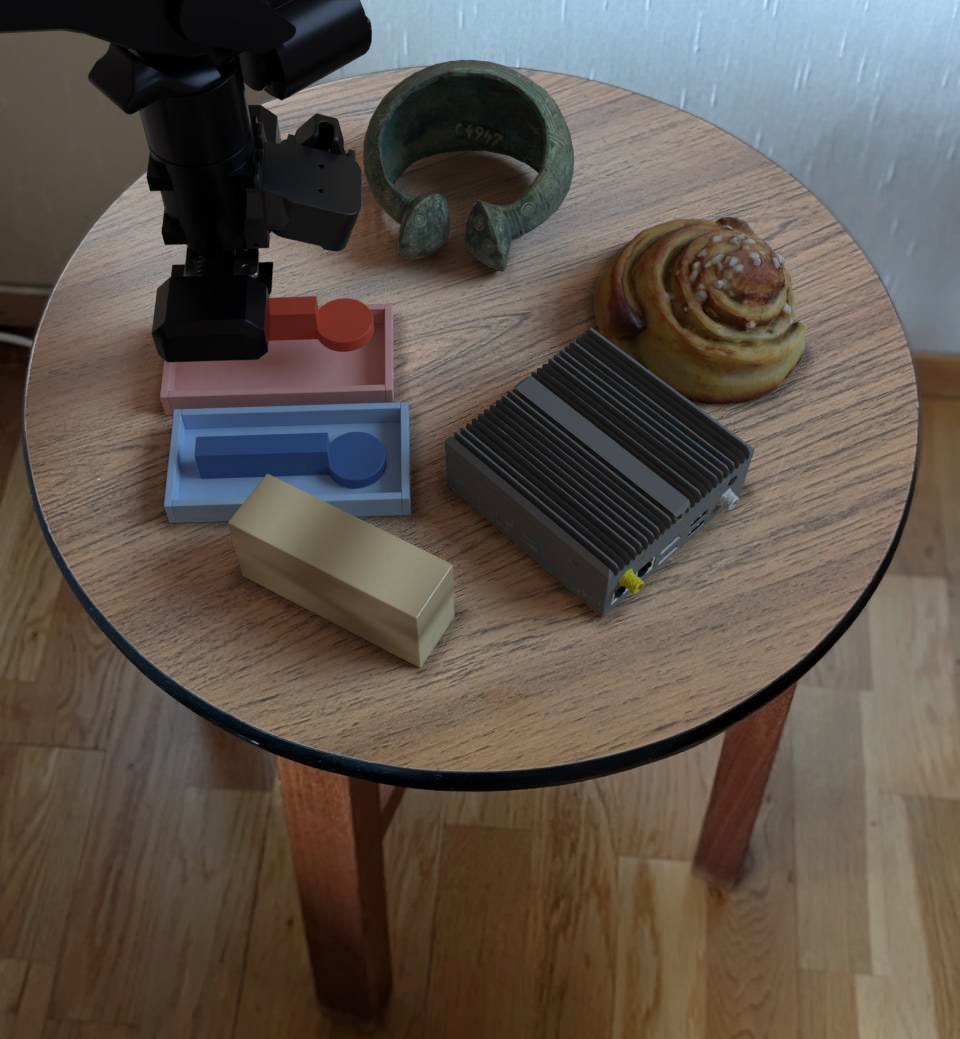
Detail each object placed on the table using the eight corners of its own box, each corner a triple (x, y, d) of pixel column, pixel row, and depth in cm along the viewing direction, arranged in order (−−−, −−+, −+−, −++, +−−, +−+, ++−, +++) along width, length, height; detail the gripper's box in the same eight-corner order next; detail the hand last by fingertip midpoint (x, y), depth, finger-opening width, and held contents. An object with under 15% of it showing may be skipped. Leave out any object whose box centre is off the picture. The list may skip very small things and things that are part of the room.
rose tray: (165, 415, 88) (159, 397, 86) (175, 328, 92) (169, 309, 90) (394, 407, 88) (392, 389, 86) (393, 321, 92) (391, 303, 90)
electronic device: (615, 631, 79) (622, 588, 75) (438, 479, 85) (436, 432, 81) (755, 503, 84) (770, 456, 80) (579, 368, 90) (584, 318, 86)
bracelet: (349, 275, 94) (337, 166, 86) (381, 131, 103) (373, 19, 94) (561, 292, 93) (570, 184, 85) (577, 146, 102) (585, 34, 93)
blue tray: (169, 523, 83) (163, 506, 81) (179, 426, 87) (173, 409, 85) (410, 515, 83) (409, 498, 82) (409, 419, 87) (408, 401, 86)
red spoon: (374, 307, 88) (371, 280, 86) (374, 351, 86) (371, 325, 84) (195, 312, 88) (188, 286, 86) (191, 357, 86) (184, 331, 84)
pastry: (762, 430, 87) (786, 350, 80) (557, 345, 91) (563, 262, 84) (835, 297, 93) (862, 212, 87) (640, 222, 97) (652, 136, 90)
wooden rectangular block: (455, 616, 79) (453, 564, 74) (420, 668, 78) (416, 619, 72) (279, 528, 83) (266, 472, 78) (242, 576, 81) (226, 522, 76)
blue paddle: (386, 439, 86) (384, 415, 84) (386, 488, 84) (384, 464, 82) (204, 445, 86) (197, 421, 84) (199, 494, 84) (192, 471, 82)
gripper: (344, 251, 68) (366, 435, 81) (349, 19, 78) (367, 216, 91) (124, 257, 68) (181, 441, 81) (157, 24, 78) (203, 220, 91)
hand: (241, 323), depth 86 cm, fingers closed on red spoon, 1 cm apart
